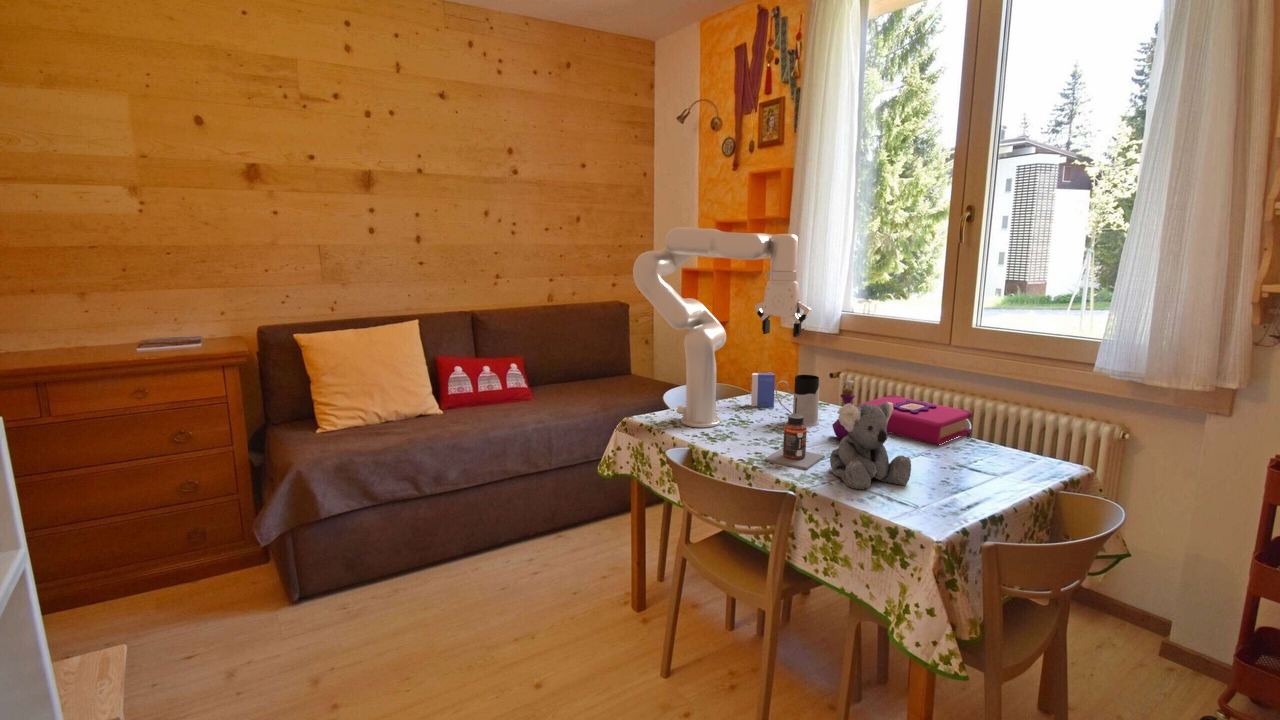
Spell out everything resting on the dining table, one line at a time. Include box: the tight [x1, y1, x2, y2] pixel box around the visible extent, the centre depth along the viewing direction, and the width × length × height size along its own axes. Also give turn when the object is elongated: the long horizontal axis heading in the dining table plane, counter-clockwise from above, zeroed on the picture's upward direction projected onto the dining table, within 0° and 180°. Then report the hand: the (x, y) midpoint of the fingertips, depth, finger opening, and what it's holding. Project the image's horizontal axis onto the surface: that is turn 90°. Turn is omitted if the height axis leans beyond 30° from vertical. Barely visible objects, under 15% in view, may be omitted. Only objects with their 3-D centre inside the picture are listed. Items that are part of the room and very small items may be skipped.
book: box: [856, 394, 974, 446], centre depth 207 cm, size 21×28×8 cm
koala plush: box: [829, 401, 912, 490], centre depth 166 cm, size 17×18×20 cm
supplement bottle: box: [782, 414, 808, 459], centre depth 179 cm, size 6×6×11 cm
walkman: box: [750, 371, 776, 408], centre depth 233 cm, size 8×3×12 cm, turn 85°
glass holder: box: [775, 374, 820, 428], centre depth 213 cm, size 9×14×15 cm, turn 89°
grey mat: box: [764, 447, 826, 471], centre depth 180 cm, size 12×12×1 cm
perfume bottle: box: [831, 380, 856, 442], centre depth 195 cm, size 8×8×18 cm
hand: (781, 334), depth 198 cm, fingers open, 9 cm apart
